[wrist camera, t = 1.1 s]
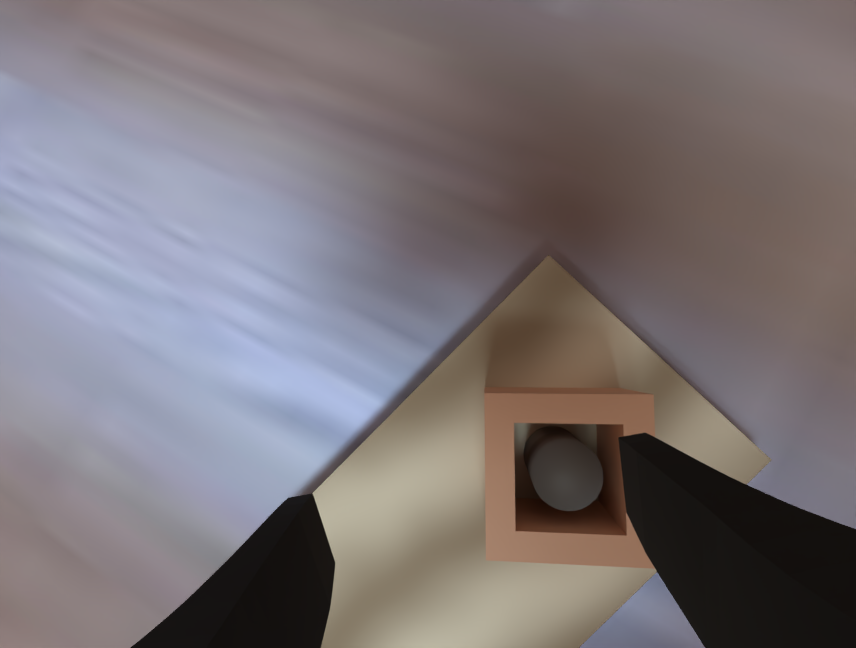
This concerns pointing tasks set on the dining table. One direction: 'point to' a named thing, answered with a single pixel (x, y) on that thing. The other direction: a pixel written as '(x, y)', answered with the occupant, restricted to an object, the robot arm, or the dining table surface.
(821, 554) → the robot arm
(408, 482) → the board
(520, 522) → the collar
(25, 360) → the dining table surface
